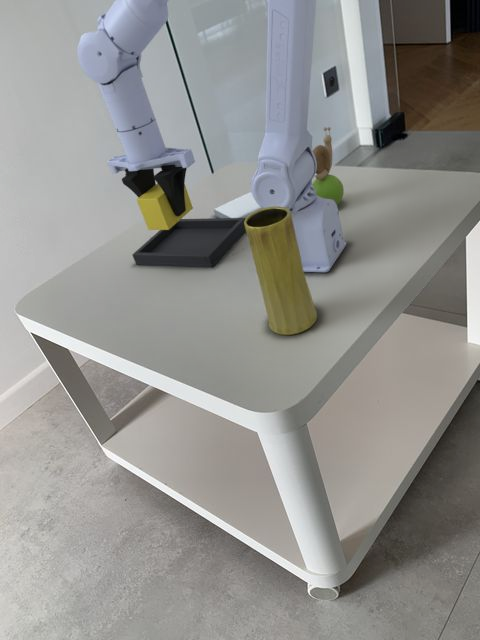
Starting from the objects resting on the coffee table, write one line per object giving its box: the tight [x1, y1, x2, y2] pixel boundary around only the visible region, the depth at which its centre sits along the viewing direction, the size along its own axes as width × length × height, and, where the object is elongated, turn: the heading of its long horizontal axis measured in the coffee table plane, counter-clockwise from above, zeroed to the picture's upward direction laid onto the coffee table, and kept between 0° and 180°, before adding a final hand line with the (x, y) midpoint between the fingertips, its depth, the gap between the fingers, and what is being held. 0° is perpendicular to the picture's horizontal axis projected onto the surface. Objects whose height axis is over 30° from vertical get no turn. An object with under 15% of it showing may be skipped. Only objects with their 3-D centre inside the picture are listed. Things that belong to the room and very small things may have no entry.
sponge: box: [136, 182, 194, 231], centre depth 84 cm, size 4×7×5 cm, turn 153°
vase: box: [244, 206, 318, 336], centre depth 65 cm, size 6×6×14 cm
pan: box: [131, 217, 246, 268], centre depth 93 cm, size 16×13×2 cm
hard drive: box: [212, 191, 263, 218], centre depth 100 cm, size 2×8×12 cm
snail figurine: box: [312, 126, 345, 205], centre depth 90 cm, size 5×6×12 cm
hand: (169, 213), depth 85 cm, fingers closed on sponge, 4 cm apart
